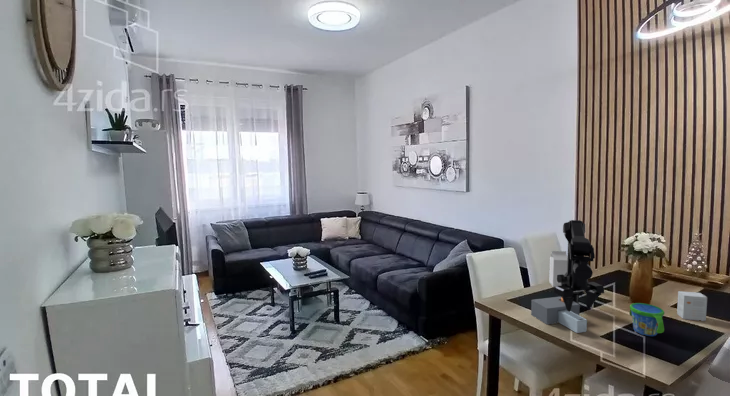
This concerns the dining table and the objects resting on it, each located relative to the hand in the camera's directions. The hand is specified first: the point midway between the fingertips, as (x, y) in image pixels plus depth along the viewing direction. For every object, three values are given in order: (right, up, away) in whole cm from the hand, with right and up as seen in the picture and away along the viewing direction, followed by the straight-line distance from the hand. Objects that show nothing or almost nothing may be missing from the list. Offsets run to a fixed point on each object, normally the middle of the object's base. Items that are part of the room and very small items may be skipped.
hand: (578, 310), depth 146 cm
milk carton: (+20, -3, +54) cm, 58 cm away
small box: (+54, -7, +10) cm, 56 cm away
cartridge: (-1, -8, +8) cm, 11 cm away
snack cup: (+25, -9, -2) cm, 27 cm away
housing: (-3, -7, +13) cm, 16 cm away
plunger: (+3, -2, +14) cm, 14 cm away
